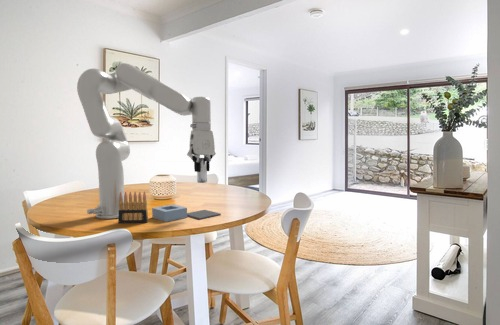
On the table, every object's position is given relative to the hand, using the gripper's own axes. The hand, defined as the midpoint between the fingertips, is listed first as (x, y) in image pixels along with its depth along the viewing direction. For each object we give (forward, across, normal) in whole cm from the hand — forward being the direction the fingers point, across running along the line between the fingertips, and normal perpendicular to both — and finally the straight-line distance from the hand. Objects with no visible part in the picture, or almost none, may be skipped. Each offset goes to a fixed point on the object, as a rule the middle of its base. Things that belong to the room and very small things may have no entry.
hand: (202, 170), depth 132 cm
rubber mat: (+19, 0, 0) cm, 19 cm away
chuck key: (+5, 0, 0) cm, 5 cm away
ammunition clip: (+19, -26, +9) cm, 34 cm away
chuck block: (+19, -12, +6) cm, 23 cm away
